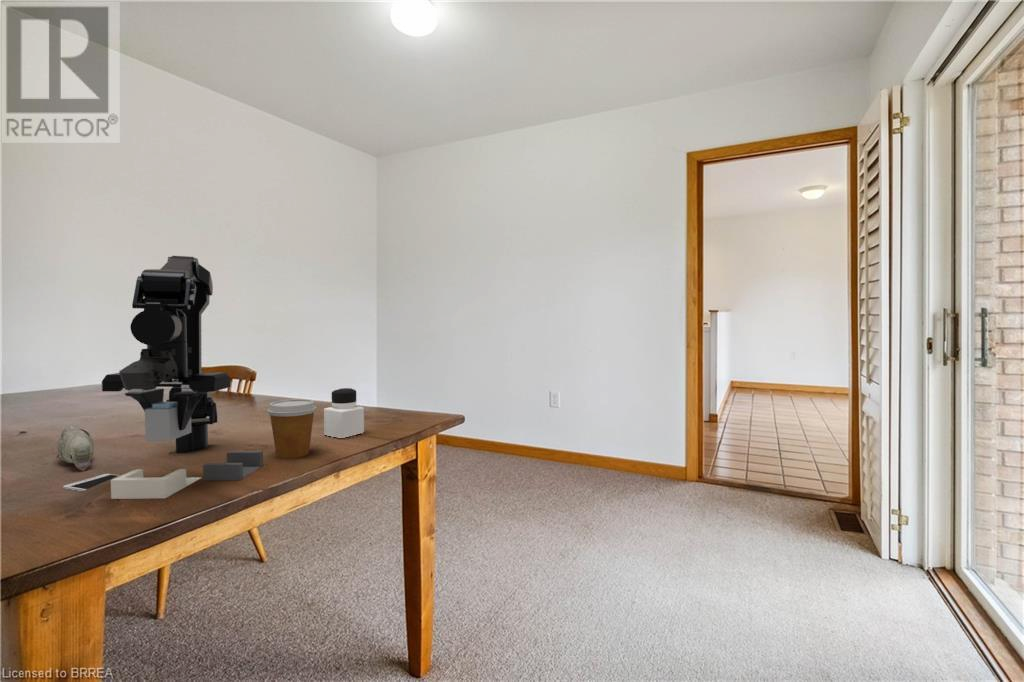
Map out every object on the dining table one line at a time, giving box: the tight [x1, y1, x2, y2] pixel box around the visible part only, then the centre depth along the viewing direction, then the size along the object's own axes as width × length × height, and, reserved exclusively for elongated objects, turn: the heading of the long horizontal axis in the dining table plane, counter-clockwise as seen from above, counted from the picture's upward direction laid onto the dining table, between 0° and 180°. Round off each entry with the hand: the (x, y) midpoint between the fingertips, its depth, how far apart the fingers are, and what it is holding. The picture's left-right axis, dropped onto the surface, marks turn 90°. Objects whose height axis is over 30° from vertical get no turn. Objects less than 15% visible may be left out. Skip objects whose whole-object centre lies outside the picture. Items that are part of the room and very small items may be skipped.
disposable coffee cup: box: [267, 398, 317, 459], centre depth 102 cm, size 10×10×12 cm
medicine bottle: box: [323, 387, 365, 439], centre depth 123 cm, size 7×7×12 cm
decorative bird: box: [56, 421, 95, 472], centre depth 97 cm, size 5×16×8 cm, turn 49°
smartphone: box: [62, 473, 121, 492], centre depth 84 cm, size 7×16×1 cm, turn 73°
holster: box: [202, 450, 264, 481], centre depth 90 cm, size 9×6×4 cm
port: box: [110, 468, 203, 500], centre depth 82 cm, size 10×8×4 cm
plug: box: [144, 401, 192, 442], centre depth 84 cm, size 6×4×6 cm, turn 3°
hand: (169, 429), depth 84 cm, fingers closed on plug, 4 cm apart
